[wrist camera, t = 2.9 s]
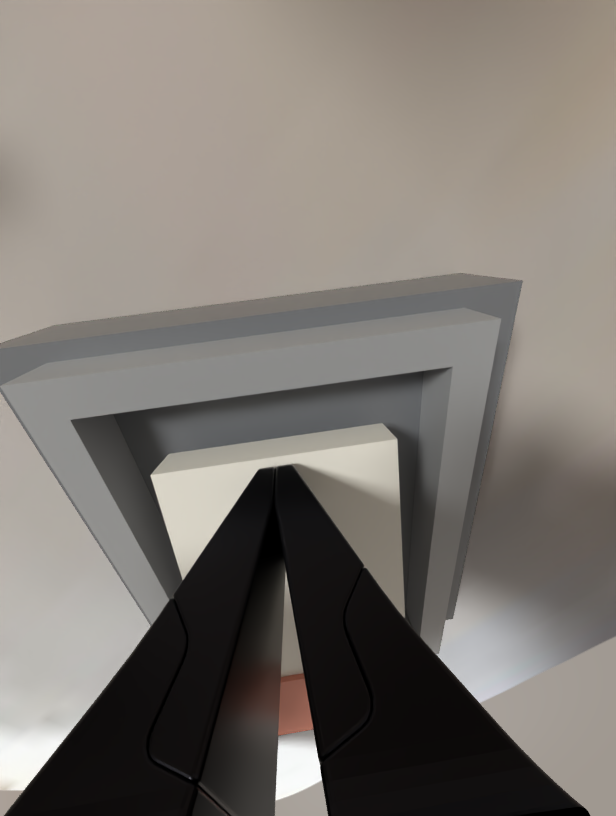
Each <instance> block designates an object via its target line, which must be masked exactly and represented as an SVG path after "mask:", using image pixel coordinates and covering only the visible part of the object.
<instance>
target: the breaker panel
mask: <svg viewBox="0 0 616 816" xmlns="http://www.w3.org/2000/svg"><path fill="white" fill-rule="evenodd" d="M521 286H522V281H521V280H513V279H505V278H496V277H488V276H480V275H471V274H463V273H459V274H451V275H443V276H435V277H428V278H420V279H412V280H404V281H396V282H389V283H381V284H373V285H365V286H358V287H350V288H342V289H334V290H326V291H319V292H311V293H303V294H295V295H287V296H280V297H272V298H264V299H256V300H248V301H241V302H233V303H225V304H217V305H210V306H202V307H194V308H186V309H178V310H171V311H163V312H155V313H147V314H139V315H132V316H124V317H116V318H108V319H100V320H93V321H85V322H77V323H69V324H62V325H54V326H51V327H48V328H45V329H42V330H39V331H36V332H33V333H30V334H27V335H24V336H21V337H18V338H15V339H12V340H9V341H6V342H3V343H0V392H1V394H2V395H3V397H4V398H5V400H6V401H7V403H8V405H9V406H10V408H11V409H12V411H13V412H14V414H15V415H16V417H17V419H18V420H19V422H20V423H21V425H22V426H23V428H24V429H25V431H26V433H27V434H28V436H29V437H30V439H31V440H32V442H33V443H34V445H35V447H36V448H37V450H38V451H39V453H40V454H41V456H42V457H43V459H44V461H45V462H46V464H47V465H48V467H49V468H50V470H51V471H52V473H53V474H54V476H55V478H56V479H57V481H58V482H59V484H60V485H61V487H62V488H63V490H64V492H65V493H66V495H67V496H68V498H69V499H70V501H71V502H72V504H73V506H74V507H75V509H76V510H77V512H78V513H79V515H80V516H81V518H82V520H83V521H84V523H85V524H86V526H87V527H88V529H89V530H90V532H91V534H92V535H93V537H94V538H95V540H96V541H97V543H98V544H99V546H100V548H101V549H102V551H103V552H104V554H105V555H106V557H107V558H108V560H109V561H110V563H111V565H112V566H113V568H114V569H115V571H116V572H117V574H118V575H119V577H120V579H121V580H122V582H123V583H124V585H125V586H126V588H127V589H128V591H129V593H130V594H131V596H132V597H133V599H134V600H135V602H136V603H137V605H138V607H139V608H140V610H141V611H142V613H143V614H144V616H145V617H146V619H147V621H148V622H149V624H150V625H151V626H152V624H153V623H154V621H155V620H156V619H157V617H158V616H159V614H160V613H161V611H162V610H163V608H164V607H165V605H166V604H167V602H168V601H169V600H170V599H171V598H173V594H174V592H175V591H176V589H177V588H178V587H179V585H180V584H181V582H182V581H183V580H182V576H181V573H180V570H179V567H178V563H177V560H176V557H175V554H174V550H173V547H172V544H171V541H170V538H169V534H168V531H167V528H166V525H165V521H164V518H163V515H162V512H161V508H160V505H159V502H158V499H157V495H156V492H155V489H154V486H153V482H152V479H151V476H150V475H151V474H152V473H153V472H154V470H155V469H156V468H157V467H158V466H159V465H160V463H161V462H162V461H163V460H164V459H165V458H166V456H167V455H168V454H171V453H178V452H185V451H192V450H199V449H206V448H213V447H220V446H227V445H234V444H240V443H247V442H254V441H261V440H268V439H275V438H282V437H289V436H296V435H303V434H310V433H317V432H324V431H331V430H338V429H345V428H351V427H358V426H365V425H372V424H379V423H383V424H384V425H385V426H386V428H387V429H388V430H389V431H390V432H391V433H392V434H393V435H394V436H395V437H396V438H397V443H398V466H399V489H400V512H401V535H402V558H403V581H404V604H405V619H406V620H407V622H408V623H409V624H410V625H411V626H412V628H413V629H414V630H415V631H416V632H417V633H418V635H419V636H420V637H421V638H422V639H423V640H424V642H425V643H426V644H427V645H428V646H429V647H430V648H431V649H432V651H433V652H434V653H435V654H438V653H439V651H440V646H441V640H442V635H443V629H444V624H445V620H448V619H453V616H454V611H455V606H456V601H457V596H458V591H459V586H460V582H461V577H462V572H463V567H464V562H465V557H466V553H467V548H468V543H469V538H470V533H471V528H472V524H473V519H474V514H475V509H476V504H477V499H478V494H479V490H480V485H481V480H482V475H483V470H484V465H485V461H486V456H487V451H488V446H489V441H490V436H491V432H492V427H493V422H494V417H495V412H496V407H497V402H498V398H499V393H500V388H501V383H502V378H503V373H504V369H505V364H506V359H507V354H508V349H509V344H510V340H511V335H512V330H513V325H514V320H515V315H516V310H517V306H518V301H519V296H520V291H521ZM173 599H174V598H173Z"/></svg>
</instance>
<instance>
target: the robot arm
mask: <svg viewBox="0 0 616 816" xmlns="http://www.w3.org/2000/svg"><path fill="white" fill-rule="evenodd" d="M285 573H286V575H287V581H288V587H289V592H290V598H291V604H292V609H293V615H294V621H295V627H296V632H297V638H298V644H299V650H300V655H301V661H302V667H303V673H304V678H305V684H306V690H307V696H308V701H309V707H310V713H311V718H312V724H313V730H314V736H315V741H316V747H317V753H318V758H319V762H320V765H321V767H320V770H321V776H322V782H323V787H324V793H325V799H326V805H327V811H328V816H590V814H589V812H588V811H587V810H586V809H585V808H584V807H583V806H582V805H580V804H579V803H578V802H577V801H576V800H574V799H573V798H572V797H571V796H570V795H569V794H568V793H566V792H565V791H564V790H563V789H562V788H561V787H560V786H558V785H557V784H556V783H555V782H554V781H553V780H552V779H551V778H550V777H549V776H548V775H547V774H546V773H545V772H544V771H543V770H542V769H541V768H540V767H538V766H537V765H536V763H534V762H533V760H532V759H531V758H530V757H529V756H528V755H527V754H526V753H525V752H524V751H523V750H522V749H521V748H520V747H519V746H518V745H517V744H516V743H515V742H514V741H513V740H512V739H511V738H510V736H509V735H508V734H507V733H506V732H505V731H504V730H503V729H502V728H501V727H500V726H499V725H498V723H497V722H496V721H495V720H494V719H493V718H492V717H491V716H490V714H489V713H488V712H487V711H486V710H485V709H484V708H483V707H482V706H481V704H480V703H479V702H478V701H477V700H476V699H475V698H474V696H473V695H472V694H471V693H470V692H469V691H468V690H467V689H466V688H465V686H464V685H463V684H462V683H461V682H460V681H459V680H458V679H457V677H456V676H455V675H454V674H453V673H452V672H451V671H450V670H449V669H448V667H447V666H446V665H445V664H444V663H443V662H442V661H441V660H440V658H439V657H438V656H437V655H436V654H435V653H434V652H433V651H432V649H431V648H430V647H429V646H428V645H427V644H426V643H425V642H424V640H423V639H422V638H421V637H420V636H419V635H418V633H417V632H416V631H415V630H414V629H413V628H412V626H411V625H410V624H409V623H408V622H407V620H406V619H405V618H404V617H403V616H402V615H401V613H400V612H399V611H398V610H397V608H396V607H395V606H394V604H393V603H392V602H391V600H390V599H389V598H388V597H387V595H386V594H385V593H384V591H383V590H382V589H381V587H380V586H379V585H378V583H377V582H376V580H375V579H374V578H373V576H372V575H371V573H370V572H369V571H368V569H367V568H364V564H363V563H362V561H361V560H360V558H359V557H358V555H357V554H356V553H355V551H354V550H353V548H352V547H351V546H350V544H349V543H348V541H347V540H346V539H345V537H344V536H343V534H342V533H341V532H340V530H339V529H338V527H337V526H336V524H335V523H334V522H333V520H332V519H331V517H330V516H329V515H328V513H327V512H326V510H325V509H324V508H323V506H322V505H321V503H320V502H319V501H318V499H317V498H316V496H315V495H314V494H313V492H312V491H311V489H310V488H309V486H308V485H307V484H306V482H305V481H304V479H303V478H302V477H301V475H300V474H299V472H298V471H297V470H296V468H295V467H294V466H293V465H292V464H287V465H280V466H277V467H276V468H275V467H267V468H260V469H259V470H257V472H256V473H255V475H254V476H253V478H252V479H251V481H250V482H249V484H248V485H247V487H246V488H245V489H244V491H243V492H242V494H241V495H240V497H239V498H238V500H237V501H236V503H235V504H234V506H233V507H232V509H231V510H230V512H229V513H228V514H227V516H226V517H225V519H224V520H223V522H222V523H221V525H220V526H219V528H218V529H217V531H216V532H215V534H214V535H213V537H212V538H211V539H210V541H209V542H208V544H207V545H206V547H205V548H204V550H203V551H202V553H201V554H200V556H199V557H198V559H197V560H196V562H195V563H194V564H193V566H192V567H191V569H190V570H189V572H188V573H187V575H186V576H185V578H184V579H183V581H182V582H181V584H180V585H179V587H178V588H177V589H176V591H175V592H174V594H173V598H174V599H173V598H171V599H170V600H169V601H168V602H167V604H166V605H165V607H164V608H163V610H162V611H161V613H160V614H159V616H158V617H157V619H156V620H155V621H154V623H153V624H152V626H151V627H150V628H149V630H148V631H147V633H146V634H145V635H144V637H143V638H142V640H141V641H140V642H139V644H138V645H137V647H136V648H135V650H134V651H133V652H132V654H131V655H130V656H129V658H128V659H127V660H126V662H125V663H124V664H123V665H122V667H121V668H120V669H119V671H118V672H117V673H116V675H115V676H114V677H113V678H112V680H111V681H110V682H109V684H108V685H107V686H106V688H105V689H104V690H103V691H102V693H101V694H100V695H99V697H98V698H97V699H96V700H95V702H94V703H93V704H92V705H91V707H90V708H89V709H88V710H87V712H86V713H85V714H84V715H83V717H82V718H81V719H80V721H79V722H78V723H77V724H76V726H75V727H74V728H73V729H72V731H71V732H70V733H69V734H68V736H67V737H66V738H65V739H64V741H63V742H62V743H61V744H60V746H59V747H58V748H57V749H56V751H55V752H54V753H53V754H52V756H51V757H50V758H49V760H48V761H47V762H46V763H45V765H44V766H43V767H42V768H41V770H40V771H39V772H38V773H37V775H36V776H35V777H34V778H33V780H32V781H31V782H30V783H29V785H28V786H27V787H26V788H25V790H24V791H23V793H21V795H20V796H19V797H18V799H17V800H16V801H15V802H14V804H13V805H12V806H11V807H10V809H9V810H8V811H7V813H6V814H5V815H4V816H275V795H276V773H277V750H278V728H279V706H280V684H281V662H282V640H283V617H284V595H285Z"/></svg>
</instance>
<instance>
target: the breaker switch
mask: <svg viewBox="0 0 616 816" xmlns="http://www.w3.org/2000/svg"><path fill="white" fill-rule="evenodd" d="M287 464H292V465H293V466H294V467H295V468H296V470H297V471H298V472H299V474H300V475H301V477H302V478H303V479H304V481H305V482H306V484H307V485H308V486H309V488H310V489H311V491H312V492H313V494H314V495H315V496H316V498H317V499H318V501H319V502H320V503H321V505H322V506H323V508H324V509H325V510H326V512H327V513H328V515H329V516H330V517H331V519H332V520H333V522H334V523H335V524H336V526H337V527H338V529H339V530H340V532H341V533H342V534H343V536H344V537H345V539H346V540H347V541H348V543H349V544H350V546H351V547H352V548H353V550H354V551H355V553H356V554H357V555H358V557H359V558H360V560H361V561H362V563H363V564H364V568H367V569H368V571H369V572H370V573H371V575H372V576H373V578H374V579H375V580H376V582H377V583H378V585H379V586H380V587H381V589H382V590H383V591H384V593H385V594H386V595H387V597H388V598H389V599H390V600H391V602H392V603H393V604H394V606H395V607H396V608H397V610H398V611H399V612H400V613H401V615H402V616H403V617H404V618H405V604H404V581H403V558H402V535H401V512H400V489H399V466H398V443H397V438H396V437H395V436H394V435H393V434H392V433H391V432H390V431H389V430H388V429H387V428H386V426H385V425H384V424H383V423H379V424H372V425H365V426H358V427H351V428H345V429H338V430H331V431H324V432H317V433H310V434H303V435H296V436H289V437H282V438H275V439H268V440H261V441H254V442H247V443H240V444H234V445H227V446H220V447H213V448H206V449H199V450H192V451H185V452H178V453H171V454H168V455H167V456H166V458H165V459H164V460H163V461H162V462H161V463H160V465H159V466H158V467H157V468H156V469H155V470H154V472H153V473H152V474H151V475H150V476H151V479H152V482H153V486H154V489H155V492H156V495H157V499H158V502H159V505H160V508H161V512H162V515H163V518H164V521H165V525H166V528H167V531H168V534H169V538H170V541H171V544H172V547H173V550H174V554H175V557H176V560H177V563H178V567H179V570H180V573H181V576H182V580H183V579H184V578H185V576H186V575H187V573H188V572H189V570H190V569H191V567H192V566H193V564H194V563H195V562H196V560H197V559H198V557H199V556H200V554H201V553H202V551H203V550H204V548H205V547H206V545H207V544H208V542H209V541H210V539H211V538H212V537H213V535H214V534H215V532H216V531H217V529H218V528H219V526H220V525H221V523H222V522H223V520H224V519H225V517H226V516H227V514H228V513H229V512H230V510H231V509H232V507H233V506H234V504H235V503H236V501H237V500H238V498H239V497H240V495H241V494H242V492H243V491H244V489H245V488H246V487H247V485H248V484H249V482H250V481H251V479H252V478H253V476H254V475H255V473H256V472H257V470H259V469H260V468H267V467H275V468H276V467H277V466H280V465H287ZM312 729H313V724H312V718H311V713H310V707H309V701H308V696H307V690H306V684H305V678H304V673H303V667H302V661H301V655H300V650H299V644H298V638H297V632H296V627H295V621H294V615H293V609H292V604H291V598H290V592H289V587H288V581H287V575H286V573H285V595H284V617H283V640H282V662H281V684H280V706H279V728H278V736H279V735H284V734H290V733H295V732H301V731H307V730H312Z"/></svg>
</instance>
